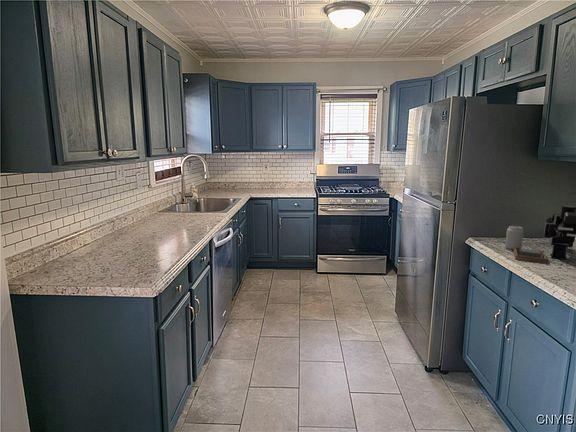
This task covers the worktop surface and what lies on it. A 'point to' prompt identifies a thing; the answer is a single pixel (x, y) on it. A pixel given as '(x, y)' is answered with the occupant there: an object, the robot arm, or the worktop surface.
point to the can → (514, 237)
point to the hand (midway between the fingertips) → (573, 236)
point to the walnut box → (533, 259)
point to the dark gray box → (530, 253)
